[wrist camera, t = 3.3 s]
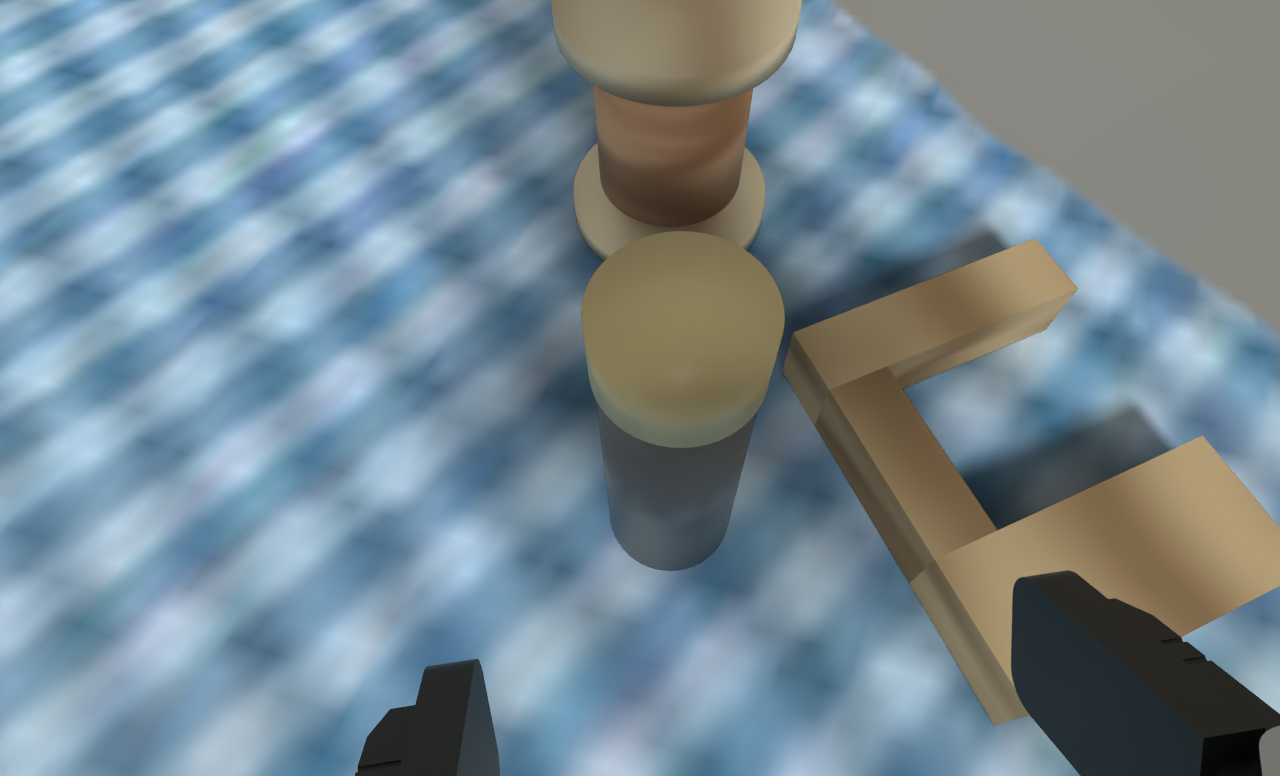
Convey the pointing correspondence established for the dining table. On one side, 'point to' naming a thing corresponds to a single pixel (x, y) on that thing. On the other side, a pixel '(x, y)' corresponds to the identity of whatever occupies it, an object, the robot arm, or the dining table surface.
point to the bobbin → (672, 113)
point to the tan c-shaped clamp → (1045, 541)
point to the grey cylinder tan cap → (678, 386)
